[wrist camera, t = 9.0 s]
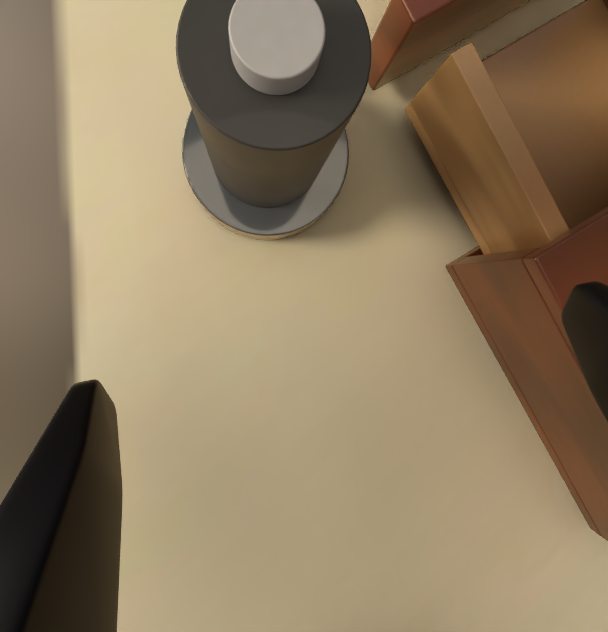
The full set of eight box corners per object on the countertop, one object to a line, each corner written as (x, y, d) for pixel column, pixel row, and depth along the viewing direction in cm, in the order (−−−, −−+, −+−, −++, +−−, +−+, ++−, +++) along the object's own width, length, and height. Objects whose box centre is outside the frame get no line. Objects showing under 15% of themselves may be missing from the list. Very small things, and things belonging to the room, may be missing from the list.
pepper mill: (247, 228, 21) (240, 177, 11) (189, 129, 20) (125, -19, 10) (342, 172, 21) (420, 72, 11) (286, 74, 21) (315, -123, 11)
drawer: (301, -38, 21) (318, -157, 16) (533, -168, 22) (633, -330, 16) (509, 340, 23) (593, 360, 17) (719, 211, 24) (868, 188, 18)
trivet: (239, 267, 23) (237, 266, 21) (158, 133, 22) (148, 118, 20) (368, 192, 23) (378, 183, 21) (292, 57, 22) (295, 34, 20)
